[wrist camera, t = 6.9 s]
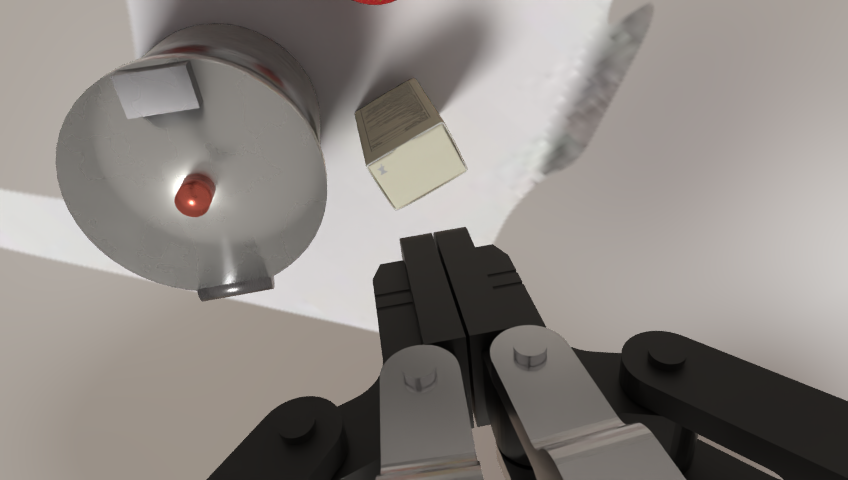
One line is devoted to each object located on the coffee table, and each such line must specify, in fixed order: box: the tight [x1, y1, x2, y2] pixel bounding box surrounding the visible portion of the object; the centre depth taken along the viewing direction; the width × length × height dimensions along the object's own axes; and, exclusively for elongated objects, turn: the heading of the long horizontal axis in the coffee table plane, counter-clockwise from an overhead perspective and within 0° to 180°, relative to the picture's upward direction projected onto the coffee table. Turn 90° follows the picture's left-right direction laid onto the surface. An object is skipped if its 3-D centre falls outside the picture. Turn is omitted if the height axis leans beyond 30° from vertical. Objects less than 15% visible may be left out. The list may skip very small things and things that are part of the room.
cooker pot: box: [140, 23, 320, 144], centre depth 42 cm, size 15×15×12 cm
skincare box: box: [355, 78, 467, 210], centre depth 44 cm, size 6×4×12 cm
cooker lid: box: [56, 53, 327, 301], centre depth 35 cm, size 17×16×3 cm
